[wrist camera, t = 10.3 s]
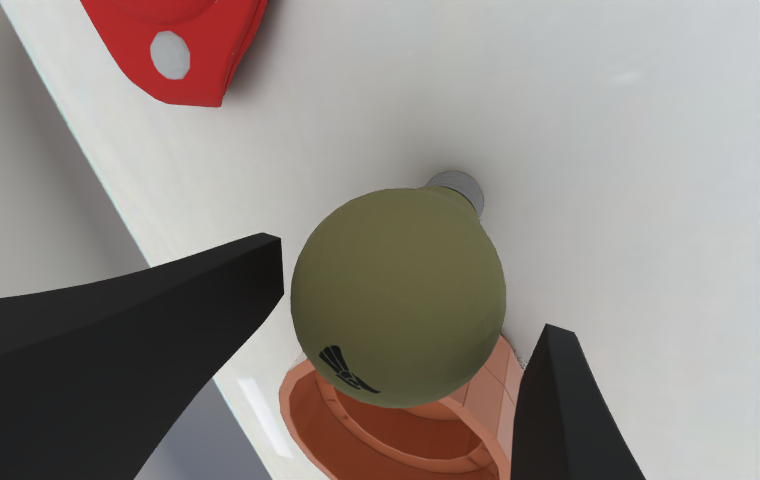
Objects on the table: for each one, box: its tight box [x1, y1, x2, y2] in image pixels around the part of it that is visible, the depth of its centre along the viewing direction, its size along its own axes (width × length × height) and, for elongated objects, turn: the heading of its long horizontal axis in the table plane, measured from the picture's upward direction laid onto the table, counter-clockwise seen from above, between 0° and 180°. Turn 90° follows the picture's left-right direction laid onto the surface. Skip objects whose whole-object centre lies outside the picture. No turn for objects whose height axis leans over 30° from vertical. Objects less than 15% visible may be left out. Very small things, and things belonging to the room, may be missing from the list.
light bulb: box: [290, 171, 506, 408], centre depth 12 cm, size 6×6×10 cm
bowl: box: [279, 335, 524, 480], centre depth 20 cm, size 11×11×6 cm
